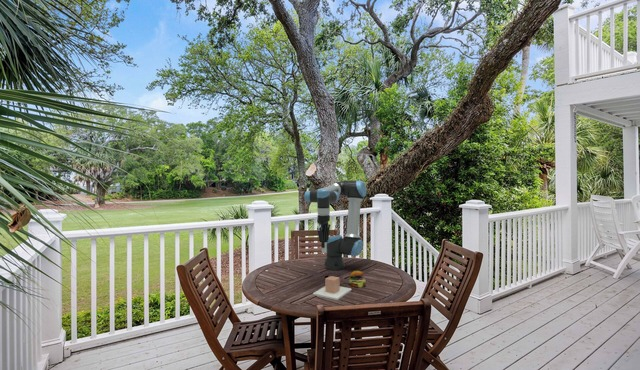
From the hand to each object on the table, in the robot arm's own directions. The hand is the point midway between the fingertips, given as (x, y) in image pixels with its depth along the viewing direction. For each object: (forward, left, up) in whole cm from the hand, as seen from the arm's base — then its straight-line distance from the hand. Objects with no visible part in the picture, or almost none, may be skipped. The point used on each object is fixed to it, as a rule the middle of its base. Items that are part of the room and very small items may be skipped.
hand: (324, 252), depth 210 cm
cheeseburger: (-13, +16, -22) cm, 30 cm away
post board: (+6, +9, -21) cm, 24 cm away
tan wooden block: (+6, +9, -20) cm, 23 cm away
